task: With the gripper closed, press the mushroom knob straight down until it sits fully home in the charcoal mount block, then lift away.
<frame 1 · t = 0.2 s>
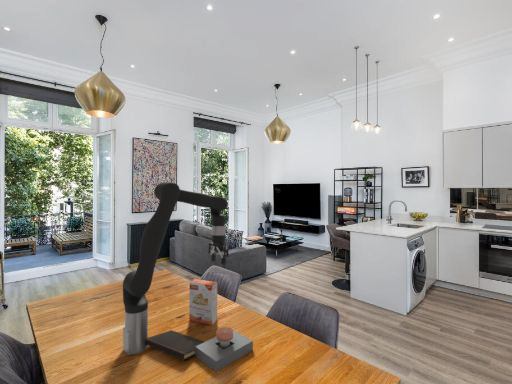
hand: (218, 262, 151), 29 cm above the table, fingers open, 8 cm apart
cracker box: (203, 321, 145), on the table
knob: (224, 338, 117), point 6 cm above the table, slide at 2.5 cm
mount: (224, 352, 117), on the table
hardcover book: (176, 347, 120), on the table, touching arm, mount
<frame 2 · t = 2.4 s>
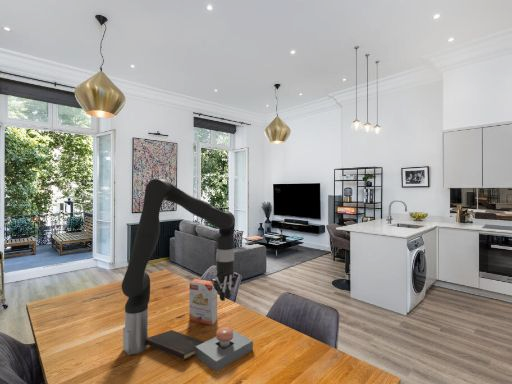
hand: (225, 299, 116), 23 cm above the table, fingers closed
nothing on the table moved.
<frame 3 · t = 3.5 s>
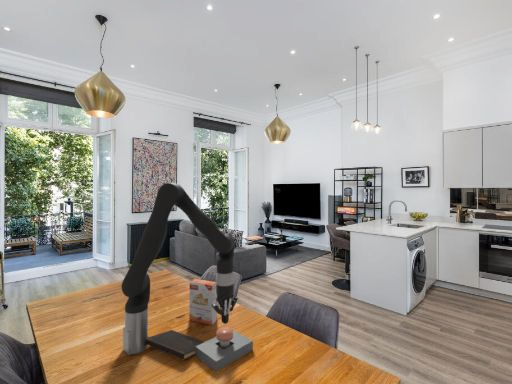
hand: (225, 322, 116), 13 cm above the table, fingers closed
nothing on the table moved.
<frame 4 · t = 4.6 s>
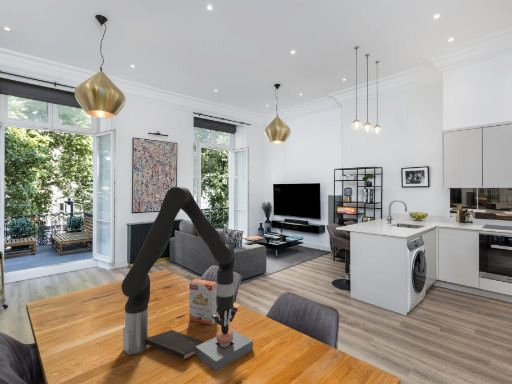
hand: (225, 333, 116), 9 cm above the table, fingers closed
knob: (224, 339, 117), point 6 cm above the table, slide at 1.7 cm, touching gripper
everything else where it was.
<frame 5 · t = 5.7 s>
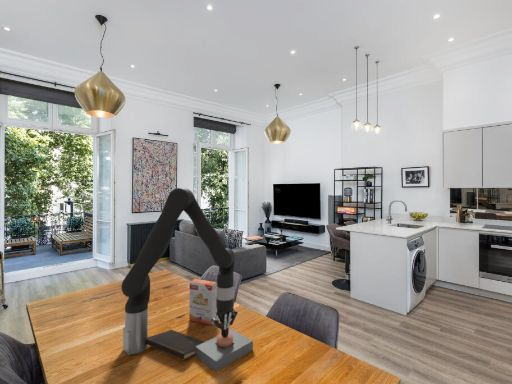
hand: (224, 336, 117), 7 cm above the table, fingers closed
knob: (224, 343, 117), point 4 cm above the table, slide at 0.2 cm, touching gripper
everything else where it was.
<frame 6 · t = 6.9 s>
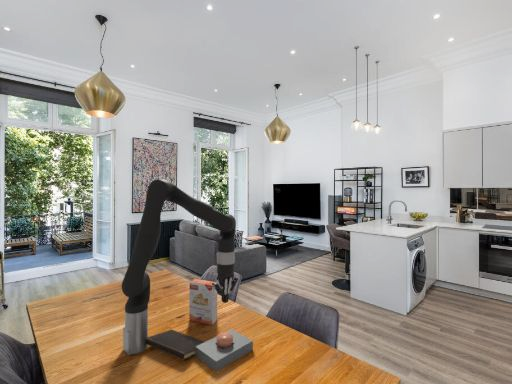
hand: (225, 302, 116), 22 cm above the table, fingers closed
knob: (224, 343, 117), point 4 cm above the table, slide at 0.2 cm
everything else where it was.
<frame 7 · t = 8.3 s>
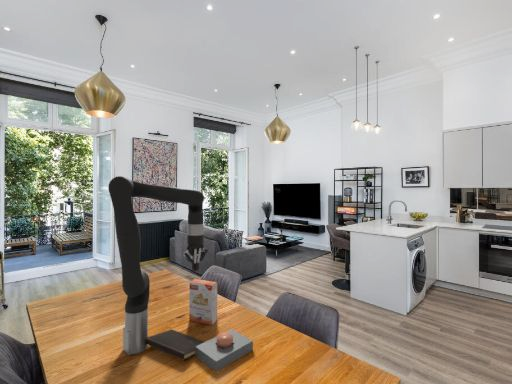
hand: (195, 270, 127), 32 cm above the table, fingers closed
nothing on the table moved.
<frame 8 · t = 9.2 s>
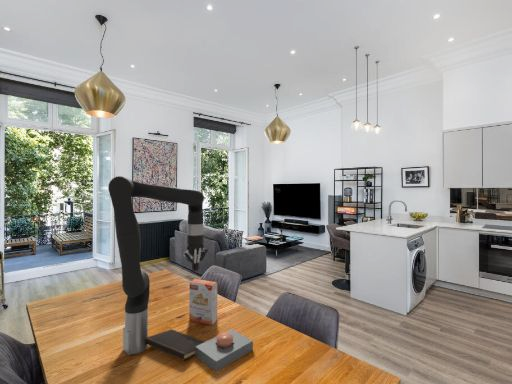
hand: (195, 270, 127), 32 cm above the table, fingers closed
nothing on the table moved.
at the end: knob slide at 0.2 cm; the gripper is holding nothing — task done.
